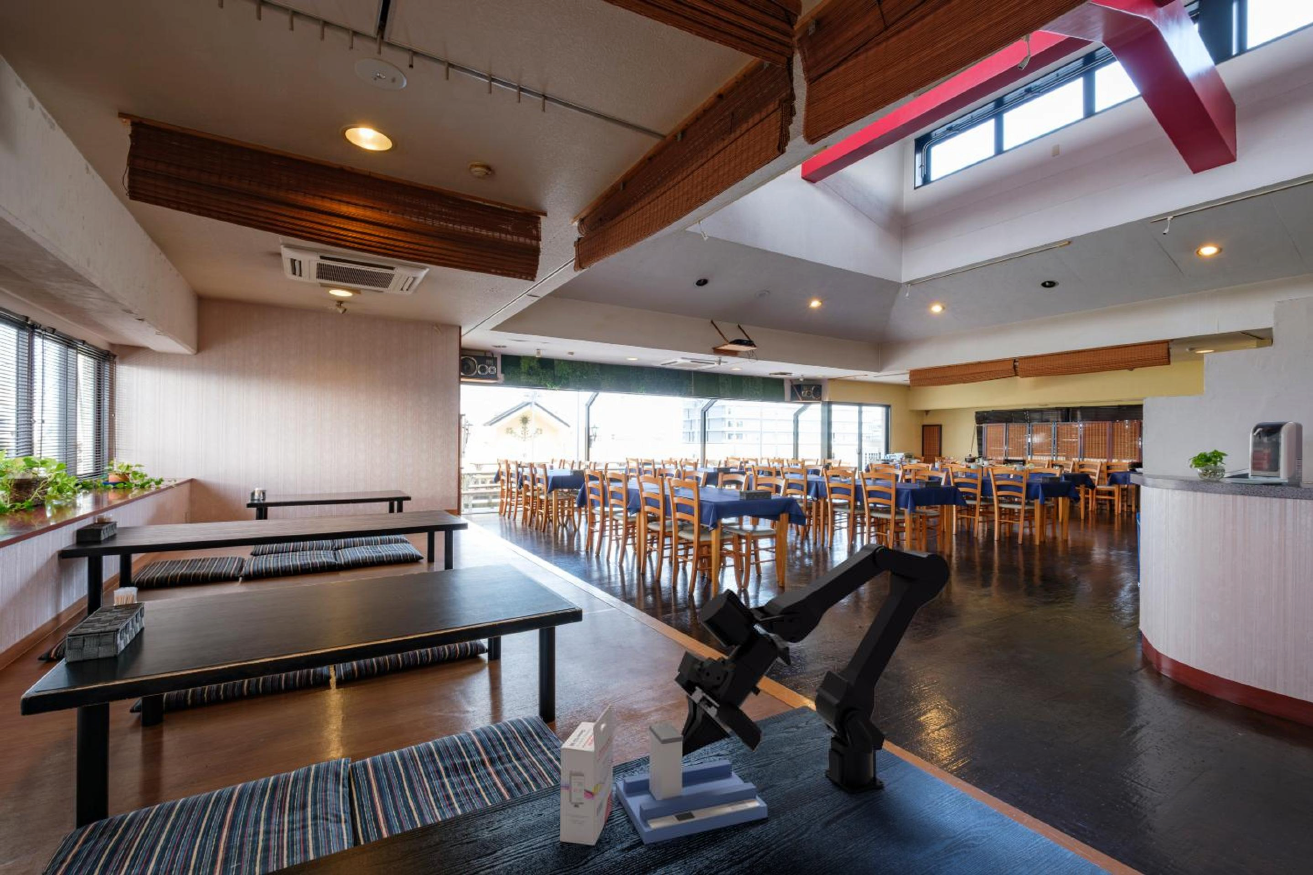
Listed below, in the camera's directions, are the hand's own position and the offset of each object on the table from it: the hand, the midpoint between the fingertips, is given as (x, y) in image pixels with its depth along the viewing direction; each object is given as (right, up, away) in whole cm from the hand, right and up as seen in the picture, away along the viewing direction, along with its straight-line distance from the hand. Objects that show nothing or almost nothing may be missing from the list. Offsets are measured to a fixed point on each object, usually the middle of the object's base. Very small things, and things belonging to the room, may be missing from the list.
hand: (677, 754), depth 82 cm
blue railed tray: (+2, -7, 0) cm, 7 cm away
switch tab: (-2, -5, -1) cm, 6 cm away
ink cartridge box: (-12, -7, -5) cm, 15 cm away
